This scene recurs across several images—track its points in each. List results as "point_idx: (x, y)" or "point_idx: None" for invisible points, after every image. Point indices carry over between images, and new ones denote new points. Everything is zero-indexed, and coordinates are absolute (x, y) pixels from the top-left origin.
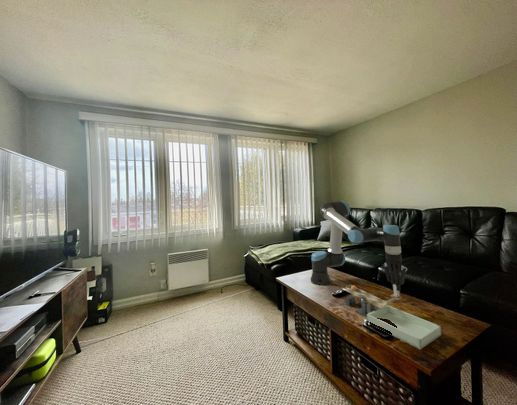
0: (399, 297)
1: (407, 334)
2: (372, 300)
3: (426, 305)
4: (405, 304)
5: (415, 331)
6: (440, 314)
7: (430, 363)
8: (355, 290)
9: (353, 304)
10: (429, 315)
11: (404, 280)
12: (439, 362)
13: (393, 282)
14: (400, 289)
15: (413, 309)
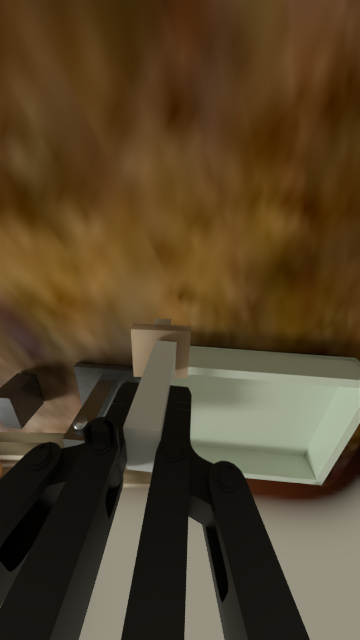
0: (185, 357)
1: (287, 480)
2: (128, 485)
3: (251, 22)
4: (149, 168)
5: (282, 407)
6: (351, 125)
7: (331, 473)
8: (1, 470)
9: (37, 384)
10: (296, 209)
11: (275, 557)
12: (348, 462)
13: (120, 487)
14: (191, 397)
15: (210, 204)
